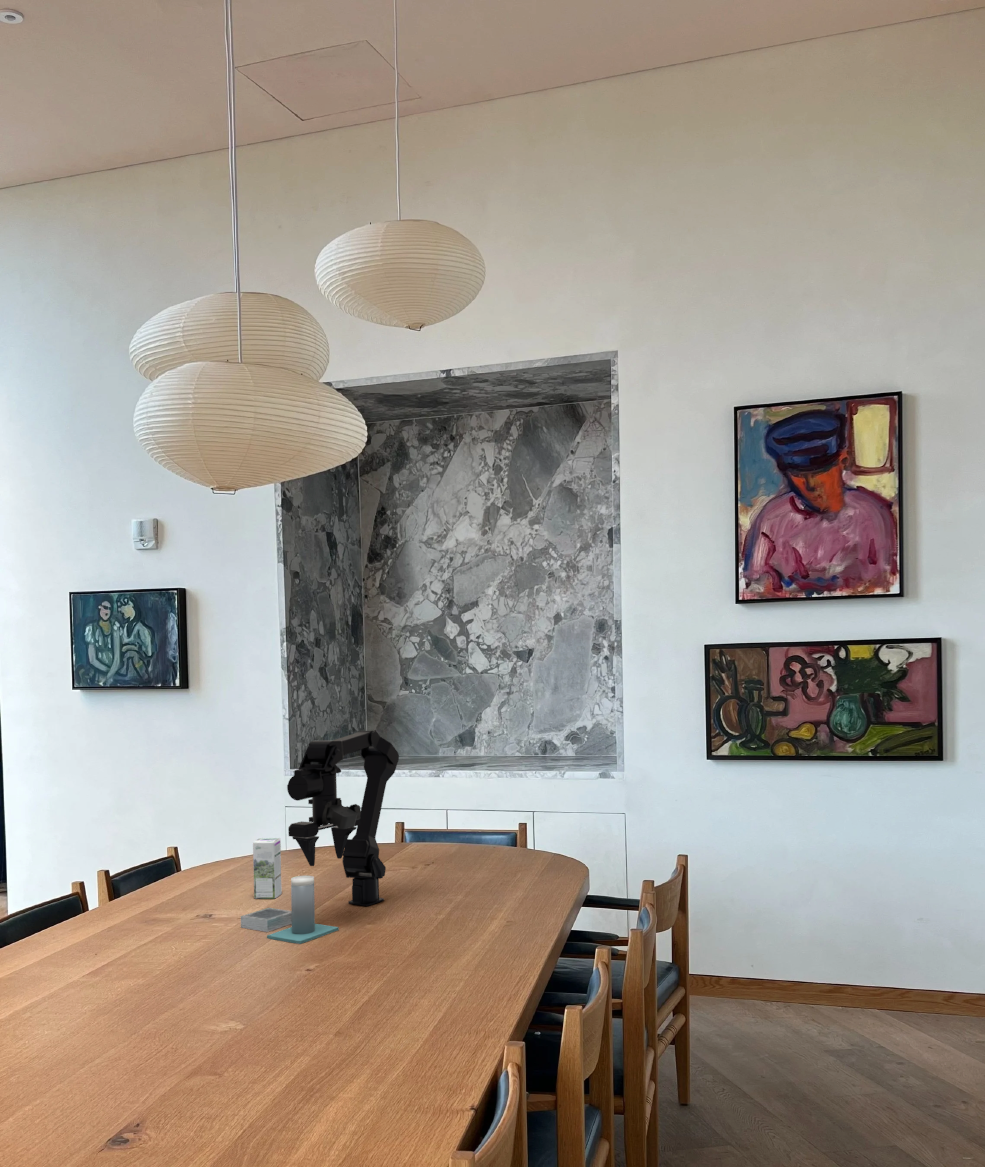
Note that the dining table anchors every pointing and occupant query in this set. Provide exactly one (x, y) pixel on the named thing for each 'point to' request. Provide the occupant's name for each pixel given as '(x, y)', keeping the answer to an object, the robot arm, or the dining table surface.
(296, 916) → the ball
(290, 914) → the collar
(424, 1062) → the dining table surface
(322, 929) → the mat
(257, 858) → the syrup box
